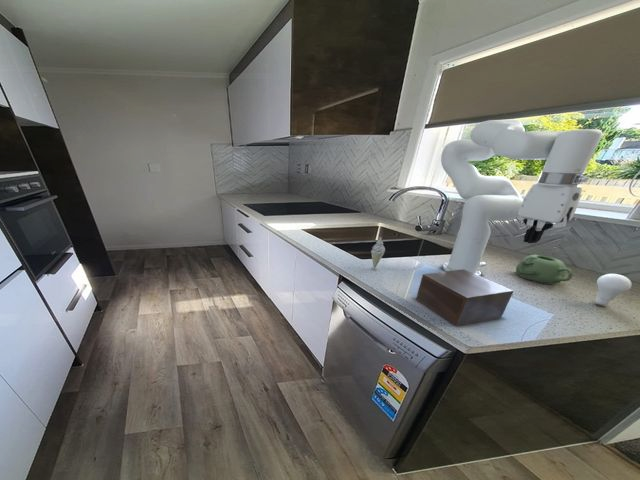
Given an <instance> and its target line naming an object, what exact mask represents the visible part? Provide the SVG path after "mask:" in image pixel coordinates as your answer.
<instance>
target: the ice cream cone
mask: <svg viewBox="0 0 640 480" xmlns="http://www.w3.org/2000/svg"><path fill="white" fill-rule="evenodd" d="M371 248H372V249H371V251H370V253H371V261H372V268H373V271H374V270H376V268H377V267H378V265H379V262H380V261H381V259H382V258H383V256H384V254H385V252H386V248H385V246H384V242H383V239H382V236H380V237H379V239H377V241H376V243H375V244H374V245H373V246H372V247H371Z"/></svg>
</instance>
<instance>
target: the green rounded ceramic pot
mask: <svg viewBox="0 0 640 480" xmlns="http://www.w3.org/2000/svg"><path fill="white" fill-rule="evenodd" d="M515 272H516V273H517V274H518V275H519V276H520V277H521V278H524V279H526V280H529V281H533V282H536V283H541V284H547V285H552V284H560V283H561V282H567V281H568V282H569V281H570V280H571V279H572V278H573V276H574V273H573V272H574V271H573V270H572V269H571V268H569V267H566V264H565V263H564V261H562V260H560V259H558V258H556V257H553V256H549V255H545V254H544V255H542V254H530V255H527V256H526V257H524V258H523V259H522V260H520V261H519V262H518V263H517V265H516V267H515ZM567 272H568V276H567V277H566V274H567Z"/></svg>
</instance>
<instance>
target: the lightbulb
mask: <svg viewBox="0 0 640 480" xmlns="http://www.w3.org/2000/svg"><path fill="white" fill-rule="evenodd" d="M596 286H597V290H598V291H597V293H596V298H595V300H594V302H595V303H596V304H597V305H598V306H608V305H609V304H610V302H611V301H613V300H615V298H616V297H617V296H618V295H622V294H623V293H625V292H628V291H629V290H630V289H631V288H632V281H631V280H630V279H629V278H628V277H626V276H625V275H622V274H619V273H618V274H617V273H606V274H604V275H601V276H599V277H598V278H597V280H596Z"/></svg>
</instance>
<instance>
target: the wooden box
mask: <svg viewBox="0 0 640 480" xmlns="http://www.w3.org/2000/svg"><path fill="white" fill-rule="evenodd" d="M512 293H514V290H513V289H512V288H508V287H506V286H504V285H502V284H499V283H497V282H495V281H492V280H490V279H488V278H485V277H483V276H481V275H480V276H478V275H476V274H474V273H471V272H469V271H467V270H464V269H462V270H454V271H439V272H430V273H423V274H422V276H421V280H420V283H419V287H418V290H417V293H416V296H415V300H416V301H418V302H419V303H420V304H422V305H424V306H425V307H427V308H428V309H430V310H431V311H432V312H434V313H436V314H437V315H438V316H440V317H441V318H444V319H445V320H446V321H448V322H449V323H451V324H453V325H454V326H456V327H458V326H465V325H470V324H476V323H481V322H487V321H488V322H489V321H492V320H498V319H502V317H503V315H504V313H505V311H506V309H507V307H508V304H509V302H510V300H511V298H512V296H513V294H512ZM506 306H507V307H506ZM505 308H506V309H505Z"/></svg>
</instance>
